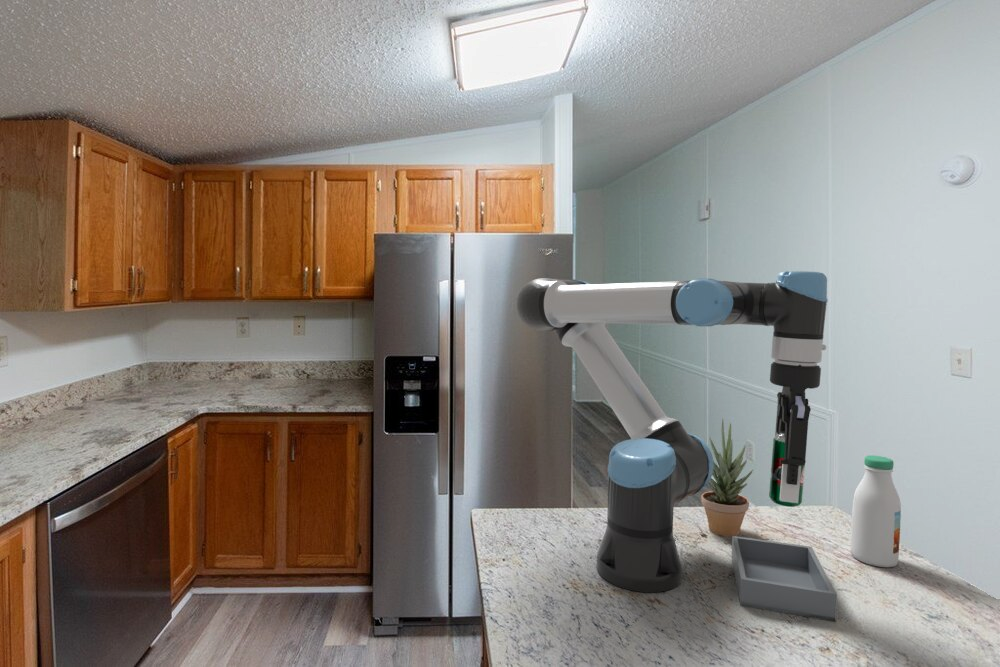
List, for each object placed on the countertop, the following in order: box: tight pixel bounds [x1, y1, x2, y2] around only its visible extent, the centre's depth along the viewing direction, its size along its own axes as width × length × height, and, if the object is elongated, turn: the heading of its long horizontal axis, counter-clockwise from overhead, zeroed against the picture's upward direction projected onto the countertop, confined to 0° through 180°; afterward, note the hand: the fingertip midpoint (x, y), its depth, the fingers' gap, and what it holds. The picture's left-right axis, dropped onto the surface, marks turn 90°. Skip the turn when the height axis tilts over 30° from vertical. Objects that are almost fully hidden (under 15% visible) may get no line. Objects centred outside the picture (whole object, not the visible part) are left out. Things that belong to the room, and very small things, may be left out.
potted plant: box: [700, 418, 754, 537], centre depth 118 cm, size 10×10×25 cm
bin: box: [730, 535, 838, 622], centre depth 95 cm, size 14×18×4 cm
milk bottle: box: [850, 455, 902, 568], centre depth 105 cm, size 8×8×20 cm
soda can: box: [768, 431, 808, 508], centre depth 94 cm, size 5×5×12 cm
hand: (785, 495), depth 94 cm, fingers closed on soda can, 5 cm apart
